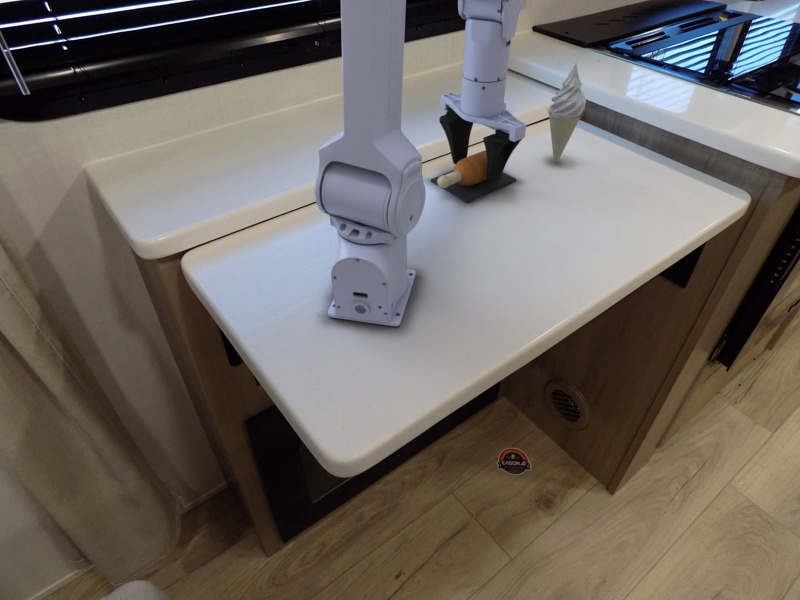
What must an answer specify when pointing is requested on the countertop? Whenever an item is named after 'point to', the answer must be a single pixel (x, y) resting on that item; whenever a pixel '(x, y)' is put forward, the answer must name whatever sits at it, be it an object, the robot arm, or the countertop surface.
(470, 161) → the drumstick
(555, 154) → the ice cream cone
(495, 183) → the mat
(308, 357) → the countertop surface
